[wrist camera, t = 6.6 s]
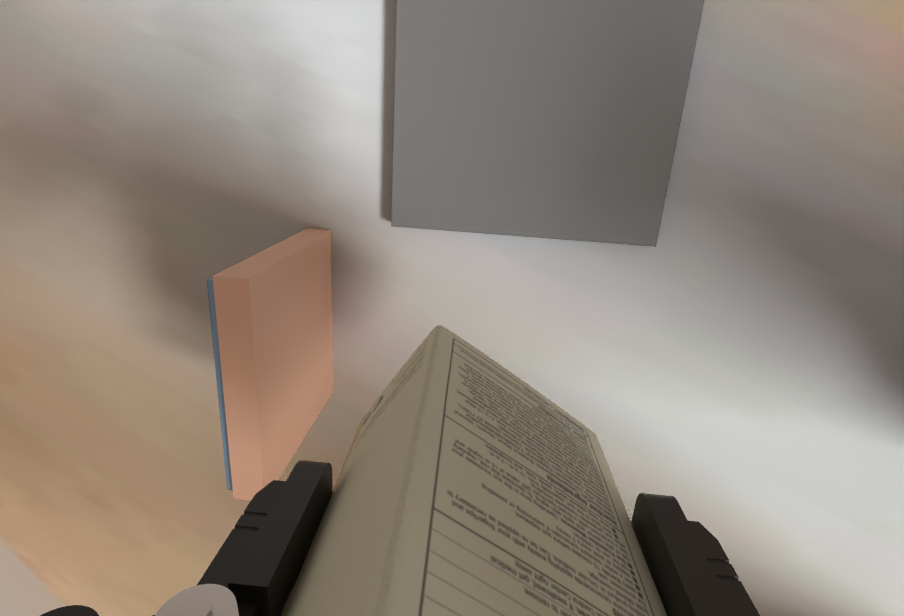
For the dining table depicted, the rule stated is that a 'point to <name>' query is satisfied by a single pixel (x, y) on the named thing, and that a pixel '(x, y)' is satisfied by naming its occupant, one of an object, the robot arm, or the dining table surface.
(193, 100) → the dining table surface
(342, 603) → the skincare box
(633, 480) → the dining table surface
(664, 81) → the rubber mat
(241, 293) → the glazed tile
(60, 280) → the dining table surface
